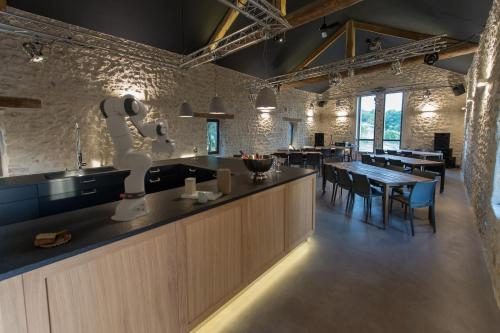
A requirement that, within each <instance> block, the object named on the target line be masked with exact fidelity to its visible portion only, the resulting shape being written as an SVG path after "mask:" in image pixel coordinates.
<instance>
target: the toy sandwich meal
mask: <svg viewBox="0 0 500 333" xmlns="http://www.w3.org/2000/svg"><path fill="white" fill-rule="evenodd" d="M66 232H67V229H65V230H62V231H59V232H53V233H52V232H49V233H39V234H37V235H36V236H35V240H34V243H33V245H34V246H35V247H41V248H52V246H54V247H57V246H56V245H58V246H61V245H64V244H66V243H67V242H69V241H70V240H71V239H72V234H66ZM68 240H69V241H68ZM65 242H66V243H65ZM63 243H64V244H63ZM60 244H61V245H60Z"/></svg>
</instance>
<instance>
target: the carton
mask: <svg viewBox="0 0 500 333" xmlns="http://www.w3.org/2000/svg"><path fill="white" fill-rule="evenodd" d="M196 181H197V180H196V177H188V178H185V179H184V188H185V189H184V190H185V193H186V194H194V193H196V191H197V188H196V184H197V183H196Z"/></svg>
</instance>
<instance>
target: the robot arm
mask: <svg viewBox="0 0 500 333" xmlns="http://www.w3.org/2000/svg"><path fill="white" fill-rule="evenodd" d="M99 111H100V112H101V115H102V116H103V117H104V118H105V124H106V129H107V132H108V134H109V136H110V139H111V141H112V143H113V145H114V148H115V154H113V156H112V159H111V160H112V165H113V166H114V167H115V168H117V169H121V170H130V174H129V175H128V176H127V177H125V179H124V193H120V195H119V197H120V198H122V200H121V201H120V203H119V204H118V205H117V206H116V207H115V212H114V215H112V216H111V220H113V221H118V222H119V221H121V222H128V221H129V222H130V221H132V220H135V219H138V218H140V217H143V216H146V215H148V214H150V210H149V208H148V202H147V199H146V190H145V176H146V173H147V172H148V170H149V169H151V167H152V166H153V162H154V161H153V157H152V155H151V154H150V153H146V152H142V151H140V152H139V151H135V152H134V151H133V150H132V147H134V145H135V139H134V137H133V134H132V130H131V129H130V127H129V124H128V123H127V121H126V118H128V119H129V121H130V122H131V123H132V125H133V126H134V127H135V129H136V130H137V131H138V134H139V135H140V136H141V137H143V138H156V140H152V142H151V152H152V153H155V154H156V156H157V158H158V159H161V158H162V156H161V155H160V153H163V154H164V153H168V154H169V155H168V156H167V158H168V159H172V155H173V153H177V146H176V140H175V139H172V138H170V135H169V124H168V121H167V120H166V119H163V118H157V119H156V122H154V123H145V122H143V121H144V120H145V119H146V118H147V116H148V109H147V107H146V105H145V104H144V103H143V102H142V101H141V100H140V99H138V97H136V96H135V95H133V94H130V93H127V94H124V95H123V96H122V97H113V98H105V99H103V100H101V101H100V103H99Z"/></svg>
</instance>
